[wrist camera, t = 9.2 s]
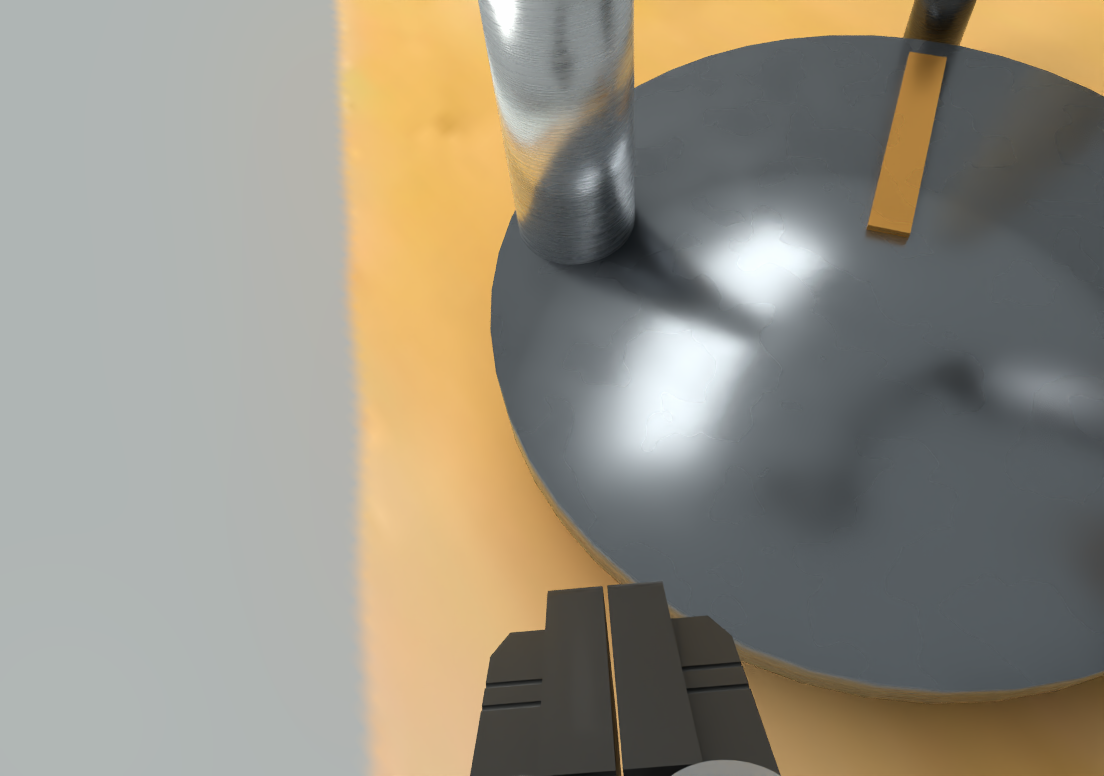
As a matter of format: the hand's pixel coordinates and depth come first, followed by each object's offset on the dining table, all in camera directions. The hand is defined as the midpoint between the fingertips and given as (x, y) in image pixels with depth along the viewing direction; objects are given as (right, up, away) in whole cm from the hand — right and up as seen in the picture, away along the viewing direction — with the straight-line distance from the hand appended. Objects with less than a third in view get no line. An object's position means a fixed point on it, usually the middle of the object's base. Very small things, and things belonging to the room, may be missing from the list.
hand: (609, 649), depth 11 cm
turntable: (+9, +6, +14) cm, 17 cm away
